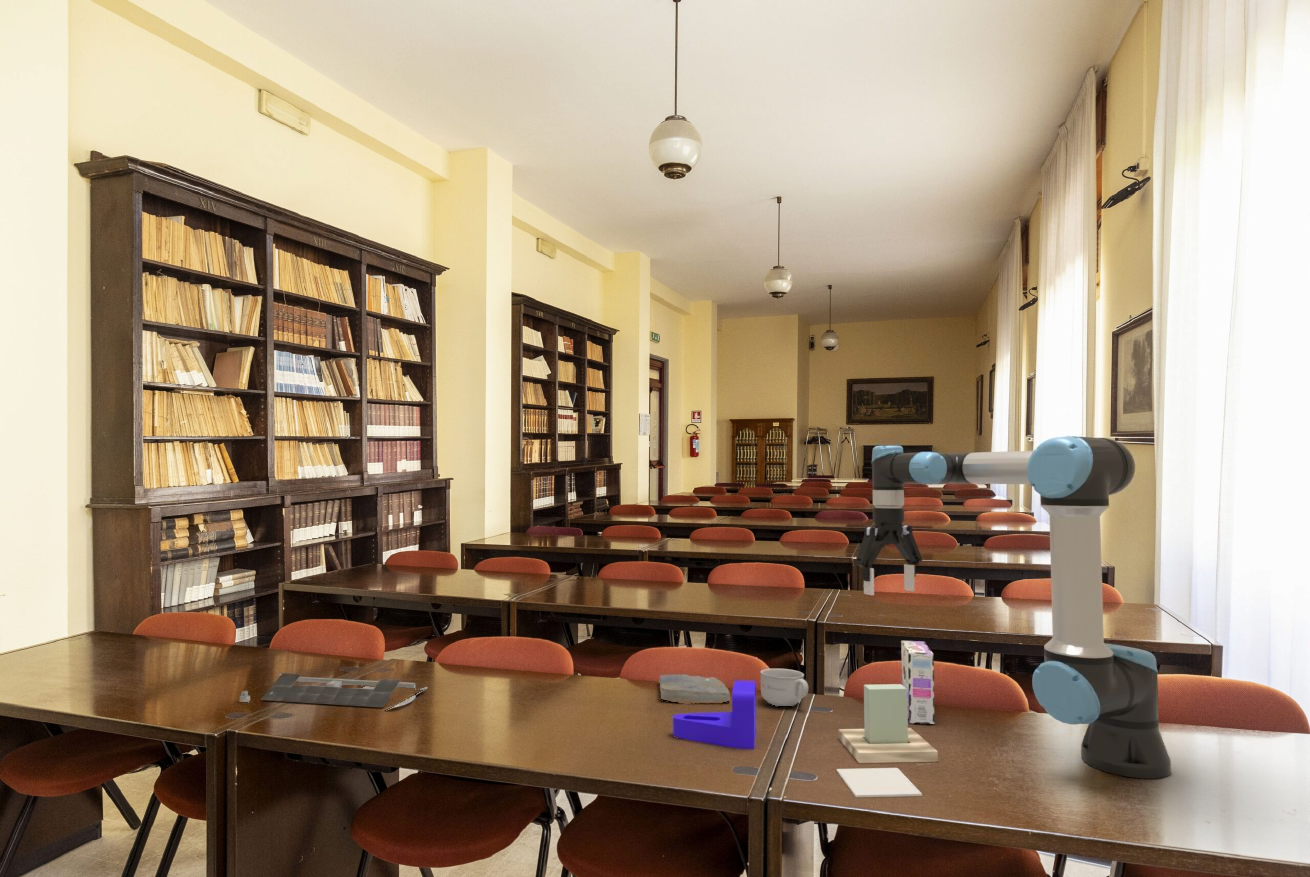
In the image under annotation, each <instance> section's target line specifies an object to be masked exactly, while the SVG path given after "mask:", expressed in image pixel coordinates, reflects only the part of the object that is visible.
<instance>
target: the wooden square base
mask: <svg viewBox="0 0 1310 877" xmlns="http://www.w3.org/2000/svg"><path fill="white" fill-rule="evenodd" d="M838 740H839V742H841V743H842V744H843V745H844V747H845V748H846V750H847V751H848V752H849V753H850V754H851V755H852V756H853V758H854V759H855V760H856V761H857V763H858V764H877V763H878V764H881V763H882V764H883V763H884V764H885V763H932V762H933V763H935V762H936V763H937V762H939V755H938V750H937V749H936V748H935V747H933V746H932V745H931V744H930V743H929V742H928V741H926V740H925V739H924V738H923V737H922V736H921V735H920V734H918V732H916V731H915V730H914V729H912V727H908V743H892V744H868V743H867V741H866V740H865V734H864V728H842V729H841V728H839V729H838Z"/></svg>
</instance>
